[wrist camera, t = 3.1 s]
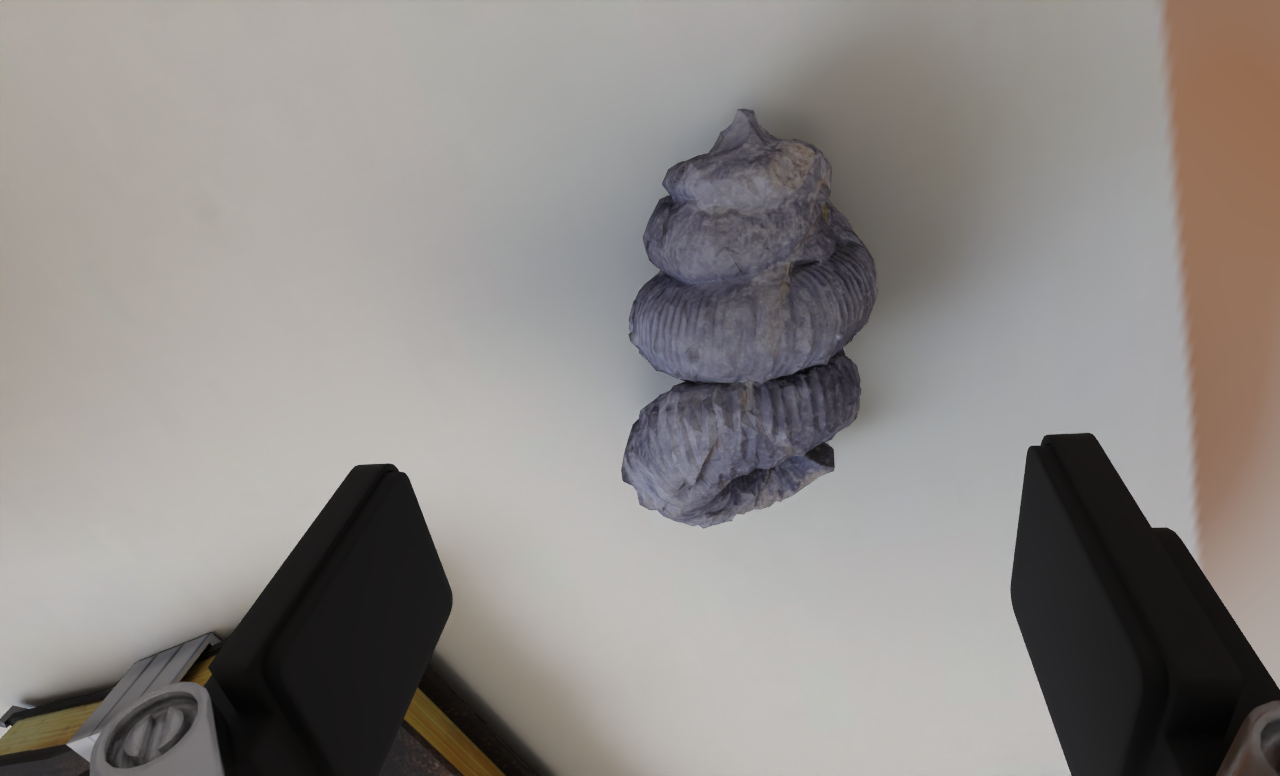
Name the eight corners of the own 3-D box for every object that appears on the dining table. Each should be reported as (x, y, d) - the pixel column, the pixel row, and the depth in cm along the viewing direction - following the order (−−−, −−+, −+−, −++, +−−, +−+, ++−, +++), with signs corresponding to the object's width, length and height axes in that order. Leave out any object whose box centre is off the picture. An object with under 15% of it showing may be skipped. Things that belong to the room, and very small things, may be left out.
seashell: (763, 445, 23) (757, 77, 18) (902, 545, 18) (945, 100, 13) (599, 513, 20) (542, 118, 16) (714, 644, 16) (685, 159, 11)
